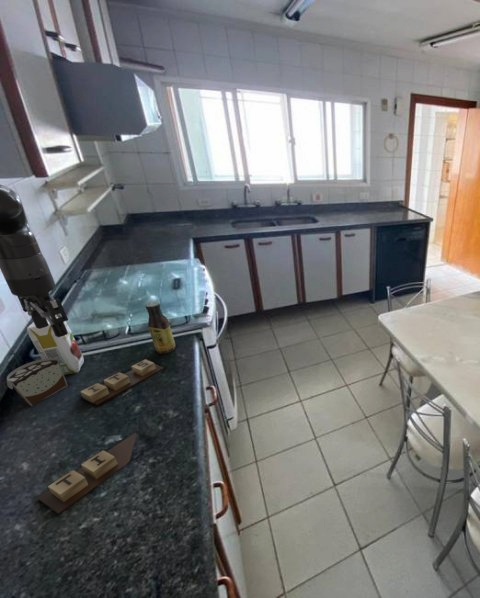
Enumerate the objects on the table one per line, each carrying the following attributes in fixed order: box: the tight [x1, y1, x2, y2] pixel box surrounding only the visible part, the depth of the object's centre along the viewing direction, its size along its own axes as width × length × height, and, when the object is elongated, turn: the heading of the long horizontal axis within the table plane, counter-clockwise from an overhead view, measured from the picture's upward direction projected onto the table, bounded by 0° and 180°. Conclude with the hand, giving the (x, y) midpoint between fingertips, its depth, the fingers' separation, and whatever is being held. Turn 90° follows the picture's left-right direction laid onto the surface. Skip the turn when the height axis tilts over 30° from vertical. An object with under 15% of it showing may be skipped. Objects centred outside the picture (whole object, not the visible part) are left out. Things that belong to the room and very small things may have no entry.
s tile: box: [130, 359, 156, 376], centre depth 111 cm, size 4×4×3 cm
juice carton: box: [26, 315, 85, 376], centre depth 106 cm, size 8×9×19 cm
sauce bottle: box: [145, 301, 177, 355], centre depth 119 cm, size 7×6×20 cm
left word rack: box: [36, 432, 138, 516], centre depth 78 cm, size 20×8×3 cm, turn 158°
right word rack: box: [80, 363, 165, 407], centre depth 106 cm, size 20×8×3 cm, turn 158°
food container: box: [6, 358, 69, 407], centre depth 97 cm, size 12×6×10 cm, turn 168°
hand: (52, 331), depth 85 cm, fingers open, 8 cm apart
